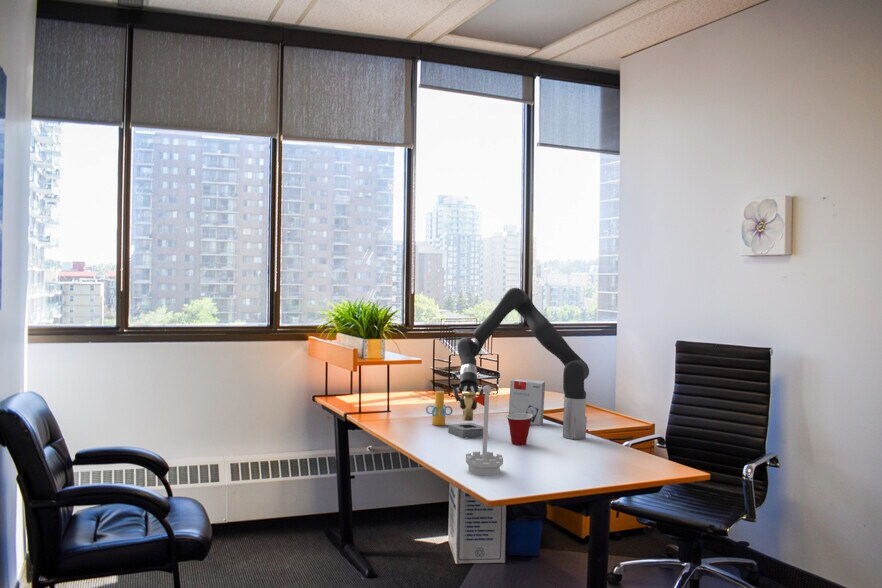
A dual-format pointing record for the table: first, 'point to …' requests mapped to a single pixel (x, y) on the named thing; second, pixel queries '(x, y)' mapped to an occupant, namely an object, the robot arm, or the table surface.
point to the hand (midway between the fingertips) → (468, 408)
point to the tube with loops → (439, 409)
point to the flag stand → (484, 445)
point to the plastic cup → (519, 427)
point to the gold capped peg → (468, 405)
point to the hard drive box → (527, 398)
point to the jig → (466, 430)
